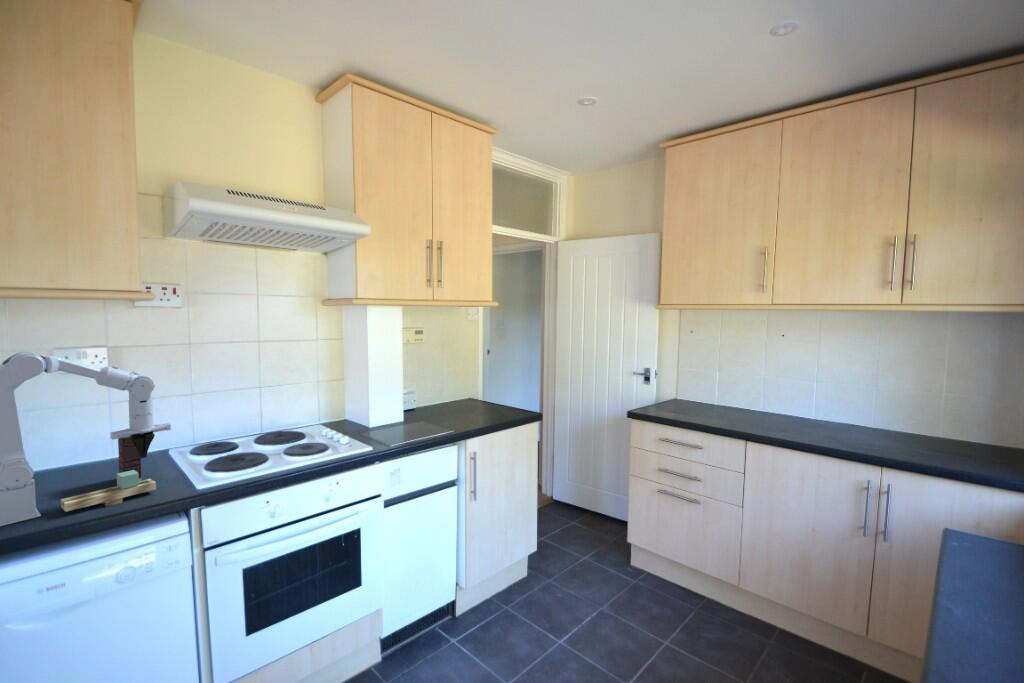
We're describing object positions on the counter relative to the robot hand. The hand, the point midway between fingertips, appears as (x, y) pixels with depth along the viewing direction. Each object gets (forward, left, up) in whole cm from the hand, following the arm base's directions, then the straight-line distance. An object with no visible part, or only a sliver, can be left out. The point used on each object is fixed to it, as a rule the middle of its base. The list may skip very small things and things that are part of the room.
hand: (142, 457), depth 142 cm
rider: (-5, -5, -7) cm, 10 cm away
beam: (-9, -5, -10) cm, 14 cm away
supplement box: (0, +13, -10) cm, 16 cm away
